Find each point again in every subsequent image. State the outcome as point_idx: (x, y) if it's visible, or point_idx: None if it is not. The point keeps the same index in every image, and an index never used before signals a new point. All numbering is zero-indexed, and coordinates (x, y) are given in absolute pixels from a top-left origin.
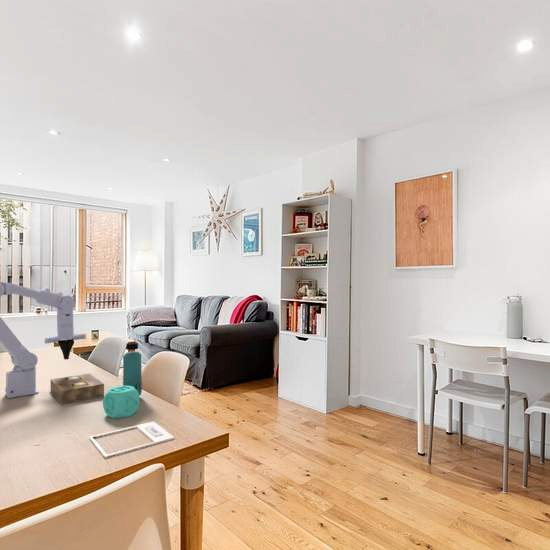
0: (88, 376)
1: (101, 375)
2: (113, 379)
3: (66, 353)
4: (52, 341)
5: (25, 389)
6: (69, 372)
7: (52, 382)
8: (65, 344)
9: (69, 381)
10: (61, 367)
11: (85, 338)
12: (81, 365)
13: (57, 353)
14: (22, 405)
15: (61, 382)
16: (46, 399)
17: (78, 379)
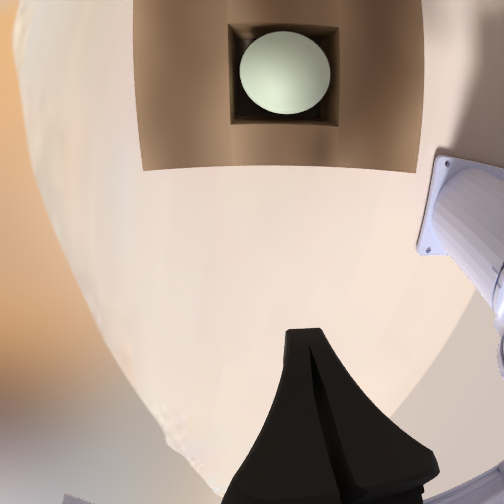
0: (168, 77)
1: (108, 297)
2: (58, 193)
3: (321, 372)
4: (471, 490)
5: (489, 175)
6: (227, 394)
7: (419, 102)
8: (371, 471)
9: (329, 13)
10: (239, 435)
11: (67, 499)
12: (183, 428)
13: (227, 485)
14: (498, 32)
15: (382, 28)
16: (425, 23)
17: (252, 44)
